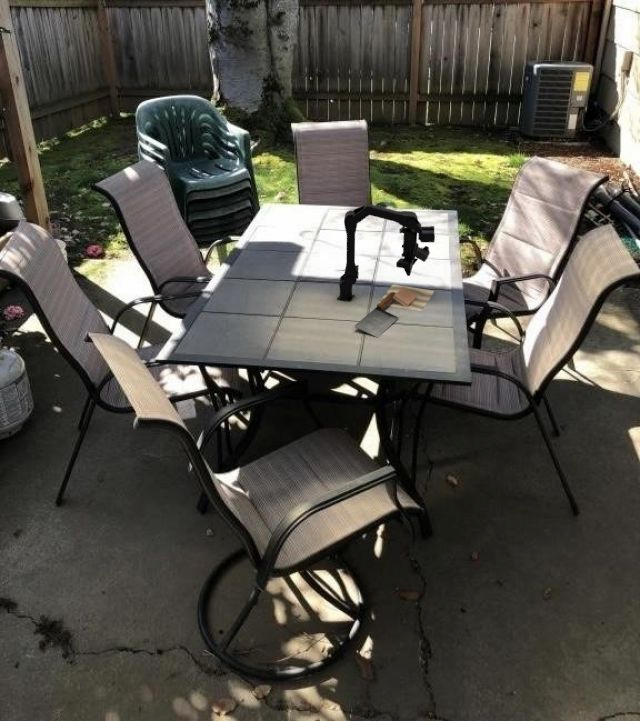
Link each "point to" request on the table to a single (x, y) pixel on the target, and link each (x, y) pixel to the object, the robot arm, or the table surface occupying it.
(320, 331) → the table surface
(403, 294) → the tile
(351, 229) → the robot arm
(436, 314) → the table surface
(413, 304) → the board
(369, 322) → the meat cleaver
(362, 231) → the table surface
